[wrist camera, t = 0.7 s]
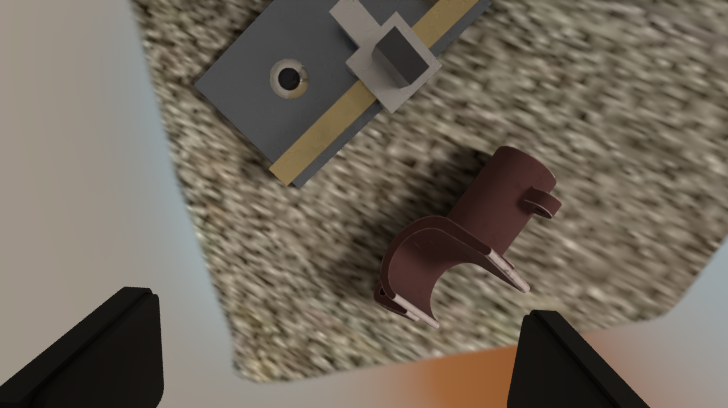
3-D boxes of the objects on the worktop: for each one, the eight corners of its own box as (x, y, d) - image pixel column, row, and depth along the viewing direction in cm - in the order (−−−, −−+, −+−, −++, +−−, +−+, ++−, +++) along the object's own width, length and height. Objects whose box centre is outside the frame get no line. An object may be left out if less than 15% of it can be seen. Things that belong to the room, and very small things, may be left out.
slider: (363, -11, 31) (368, -53, 23) (431, 70, 33) (460, 58, 25) (317, 36, 32) (306, 11, 24) (386, 113, 34) (399, 115, 25)
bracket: (352, 284, 36) (415, 353, 27) (468, 134, 37) (563, 157, 28) (394, 311, 39) (461, 380, 31) (499, 173, 40) (593, 204, 31)
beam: (431, -75, 31) (438, -91, 28) (484, -7, 32) (495, -16, 30) (234, 125, 34) (226, 127, 31) (290, 180, 35) (286, 186, 33)
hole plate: (390, -119, 31) (392, -127, 30) (488, 6, 33) (492, 2, 32) (198, 85, 34) (193, 85, 33) (300, 186, 36) (298, 189, 35)
